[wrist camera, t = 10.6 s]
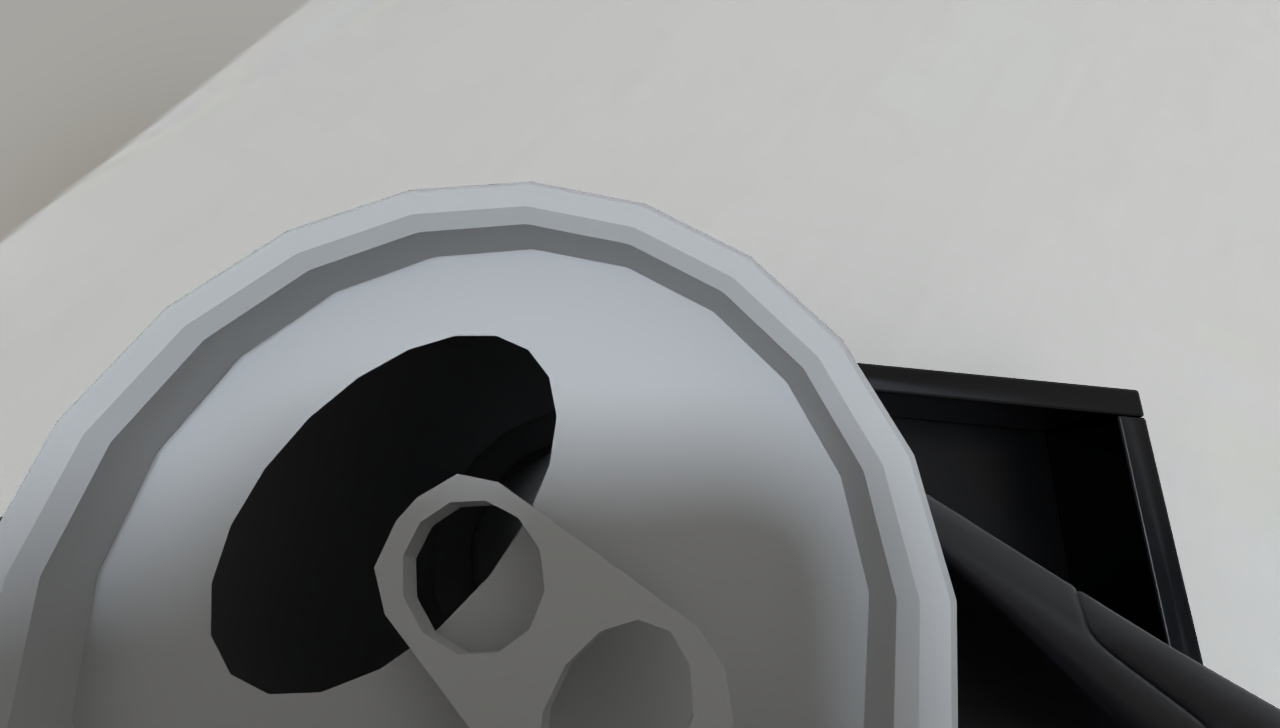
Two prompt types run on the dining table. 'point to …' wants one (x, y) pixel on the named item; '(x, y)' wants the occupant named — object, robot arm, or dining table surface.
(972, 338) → the dining table surface
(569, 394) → the can
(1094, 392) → the black divided tray
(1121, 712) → the robot arm
